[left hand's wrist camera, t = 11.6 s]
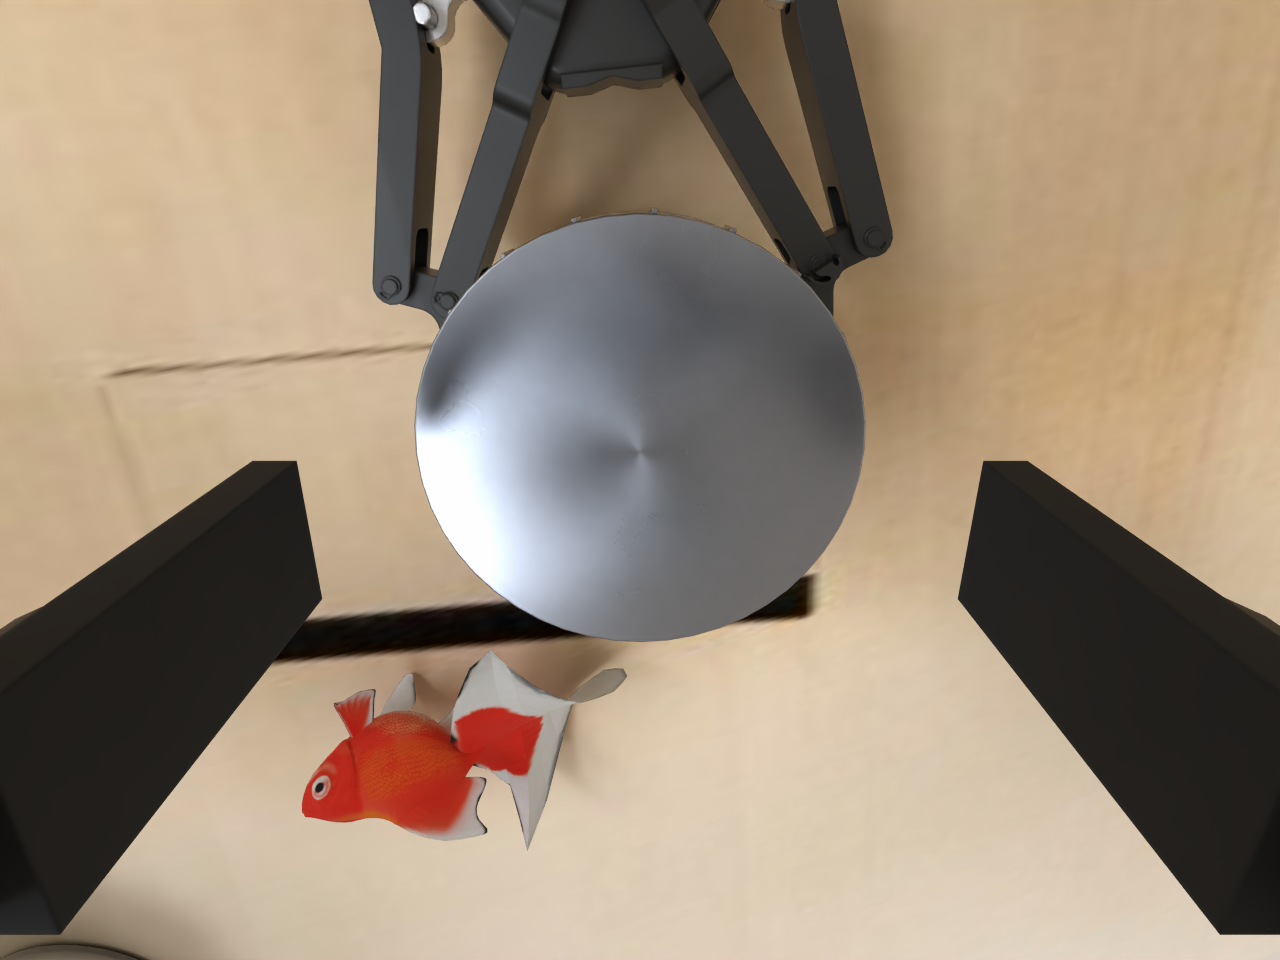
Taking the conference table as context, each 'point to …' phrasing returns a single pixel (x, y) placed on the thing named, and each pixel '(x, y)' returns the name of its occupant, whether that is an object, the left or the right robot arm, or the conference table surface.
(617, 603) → the lid
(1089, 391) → the conference table surface
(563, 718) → the fish
